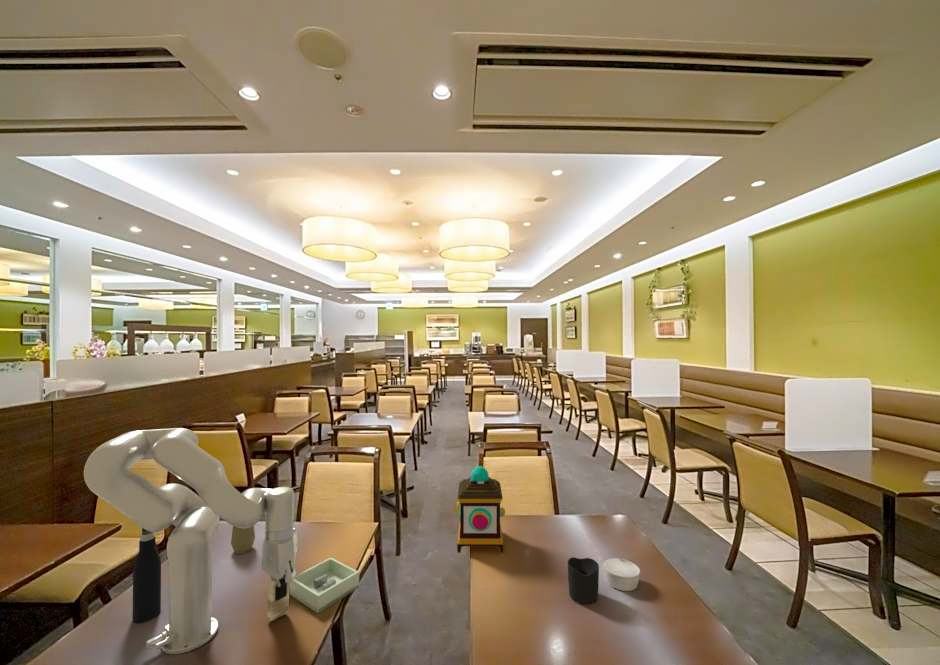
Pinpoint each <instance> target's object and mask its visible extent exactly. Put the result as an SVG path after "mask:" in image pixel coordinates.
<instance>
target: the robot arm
mask: <svg viewBox="0 0 940 665" xmlns="http://www.w3.org/2000/svg"><path fill="white" fill-rule="evenodd" d="M146 460H147V461H149V460H153V462H155V463H156V464H157V465H159V466H160V467H161V468H163V469H165V470H166V471H167V472H169V473H170V474H172V475H174V476H175V477H176V478H178V479H179V480H181V481H183V483H185V484H187V485H188V486H190V488H192V489H193V490H195V491H196V492H197V493H195V492H194V491H193V490H192V489H190V488H189V487H188V486H185V485H183V484H180V483H174V482H173V483H167V484H163V485H161V486H159V487H158V486H157V485H155V484H154V483H152V482H151V480H149V479H148V478H146V477H145V476H143V475H140V474H138V473H136V472H133V471H132V470H131V467H132V466H133V465H135V464H136V463H138V462H141V461H146ZM83 480H84V481H85V484H86V486H87V487H88V489H89V491H90V492H92V493H93V494H95V495H96V496H97V497H99V498H100V499H102V500H104V501H105V502H106V503H108V504H109V505H111V506H112V507H114V508H115V509H116V510H118V512H120V513H121V514H122V515H124V516H126V517H127V518H128V519H129V520H131V521H133V523H135V524H136V525H138V527H140V528H141V529H142V528H144V529H145V530H147V531H150V532H155V533H158V532H161V531H162V532H163V531H164V530H166V529H167V528H169V527H170V526H171V525H173V526H174V527H175V528H174V529H173V530H172V532H171V533H170V535H169V537H168V540H167V543H166V557H167V558H166V559H167V561H168V562H167V563H168V587H169V588H168V600H169V601H168V624H167V625H165V626H164V631H163V632H162V631H161V633H160V634H159V635H157V636H155V637H154V636H153V637H152V638H150V639H148V640H145V647H146V649H147V650H149V649H151V648H154V647H155V650H156V651H157V650H160V649H161V650H162V652H163V653H166V654H168V655H169V654H170V655H178V654H184V653H188V652H191V651H193V650H197V648H200V647H201V646H203V645H205V644H207V643H208V642H209V641H210V640H211V639H212V638H213V637H214V636H215V635H216V633H217V632H218V629H219V622H218V620H217V619H216V618H214V617H213V616H212V614H213V612H212V607H213V606H212V605H213V604H212V601H213V600H212V599H213V598H212V596H213V594H212V593H213V590H212V589H213V588H212V587H213V586H212V585H213V582H212V580H213V577H212V576H213V570H212V569H213V567H212V566H213V564H212V563H213V562H212V561H213V560H212V553H211V541H212V539H213V538H214V534H215V533H216V532H217V530H218V528H219V524H220V520H223V521H225V522H226V523H227V524H229V525H231V526H232V527H233V526H235V527H238V528H249V527H251V526H253V525H254V526H256V524H257V523H258V522H259V521H260V520H261V517H262V515H263V514H264V515H265V518H264V519H265V525H264V539H263V543H262V544H263V545H262V555H261V569H262V571H263V572H265V573H266V574H267V575H269V578H271V577H274V578H275V579H277V586H276V587H275V600H276V601H278V600H280V599H282V598H283V597H285V596H286V595H287V583H288V582H289V581H291V580H292V573H293V571H294V543H293V538H292V537H293V535H294V528H295V526H294V522H295V521H294V520H295V491H294V489H293V488H292V487H289V486H279V487H274V488H265V487H252V488H251V487H250V488H248V489H246V490H244V491H243V492H242V493H241V491H239V490H238V489H237V488H235V487H234V486H233V485H232V484H231V482H230V481H229V479H228V476H227V475H226V471H225V467H224V465H223V464H222V462H221V461H220V460H218V459H217V458H215V457H214V456H213V455H212V454H209V453H208V452H207V451H205V449H203V448H201V447H200V446H199V437H198V435H197V434H196V432H194V431H193V430H192V429H188V428H184V427H173V428H160V429H159V428H158V429H142V430H134V431H128V432H125V433H123V434H120V435H119V436H117V437H116V436H115V437H114V438H111V439H110V440H107V441H106V442H104V443H102V444H101V445H99V446H98V447H96V449H94V450H93V451H92V452H91V454H90V455H89V456H88V458H87V460H86V462H85V465H84V468H83ZM283 576H284V578H282V577H283ZM269 578H268V579H269ZM281 578H282V579H281Z"/></svg>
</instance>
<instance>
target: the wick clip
mask: <svg viewBox="0 0 940 665" xmlns="http://www.w3.org/2000/svg"><path fill="white" fill-rule="evenodd" d="M335 584H336V580H335V579H332V580H330V581H329V582H327V575H326V574H324V575H322V576H320V577H318V578H316V579H315V580H314V588H315V589H317V588H319V587H321V586H322V585H323V591H324V590H326V589H328V588H329V587H331V586H333V585H335Z"/></svg>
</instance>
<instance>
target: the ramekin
mask: <svg viewBox="0 0 940 665" xmlns="http://www.w3.org/2000/svg"><path fill="white" fill-rule="evenodd" d="M603 569H604V570H603V571H604V572H605V579H606V581H607V583H608V584H609V586H611V587H612V588H614V589H615V588H616V589H615V590H618V591H621V592H632V591H634V590H636V589H637V587H638V585H639V580H640V577H641V569H640V567H639V566H638V565H637V564H635V563H634V562H631V561H630V560H628V559H623V558H618V557H617V558H616V557H614V558H608V559H607V560H605V561H604V563H603Z"/></svg>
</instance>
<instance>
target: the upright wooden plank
mask: <svg viewBox="0 0 940 665" xmlns="http://www.w3.org/2000/svg"><path fill="white" fill-rule="evenodd" d="M282 578H284V576H283V577H282ZM282 578H281V579H282ZM276 586H277V579H275V578H274V577H271V578H268V593H267V594H268V595H267V596H268V597H267V611H266V612H267V614H266V615H267V616H266V618H267V619H268V620H269V621H271V622H273V621H275V620H277V619H279V618H280V617H282V616H285V615H286V614H288V613H289V608H290V607H289V604H290V581H289V582H288V583H287V595H286V596H285V597H283V598H282V599H280V600H278V601H276V600H275V587H276Z"/></svg>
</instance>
